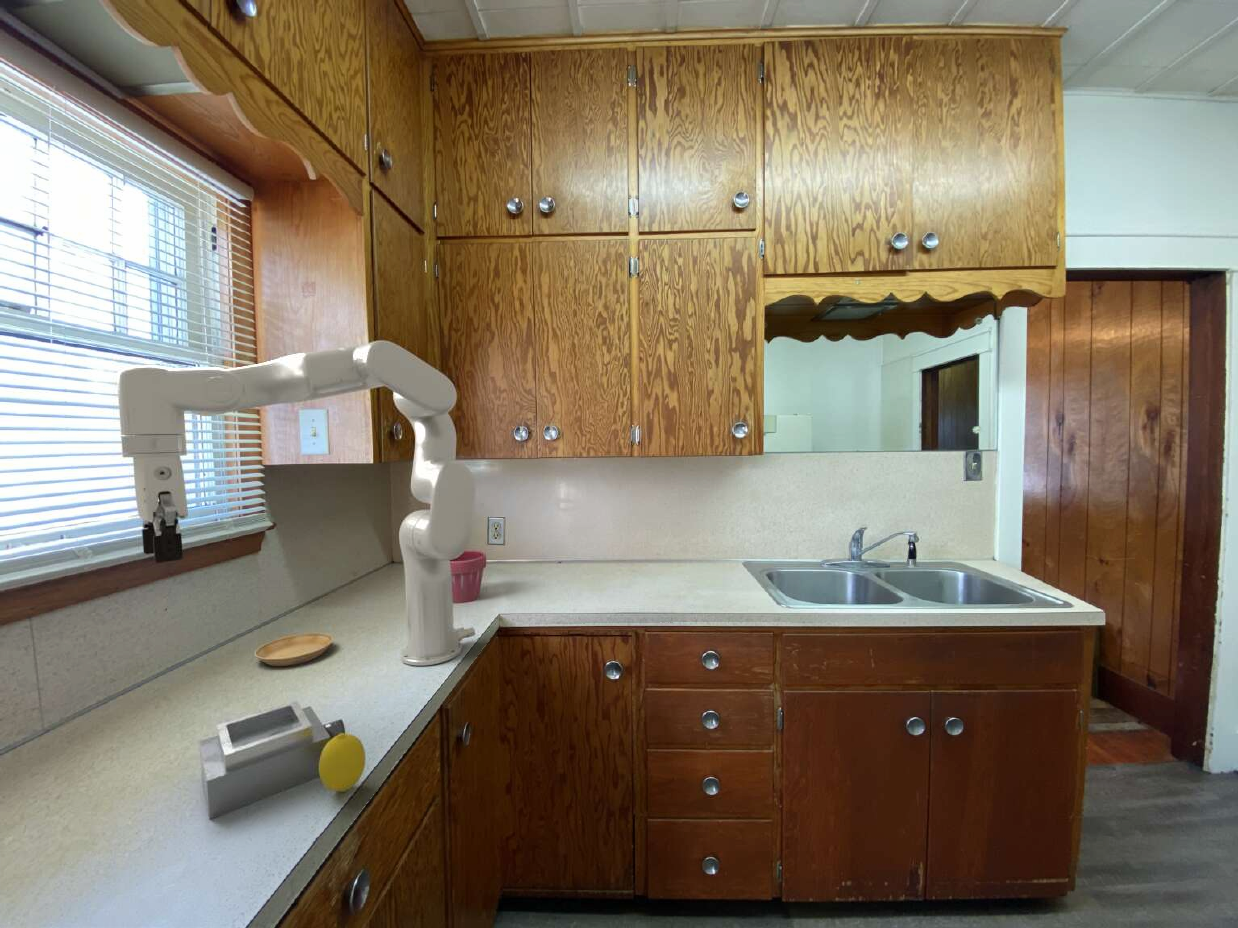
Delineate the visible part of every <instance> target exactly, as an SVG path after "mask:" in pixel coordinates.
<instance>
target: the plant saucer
mask: <svg viewBox="0 0 1238 928" xmlns="http://www.w3.org/2000/svg"><path fill="white" fill-rule="evenodd" d="M333 641H334V638H333V636H332V635H331V634H329V633H324V632H310V633H307V632H306V633H300V634H294V635H290V636H289V635H288V636H285V637H281V638H278V639H274V640H272V641H270V642H267V643H265V644H263V645H261V646H260V647H258V648H257V649H255V651H254V656H255V657H256V658H257V659H259V660H260V661H262V662H263V663H265V665H266V664H267V665H269V666H273V667H285V666H286V667H287V666H294V665H299V664H302V663H306V662H309V661H312V660H314V659H316V658H318V657H320V656H321V655H322V654H323V653H324V652H325V651H326V650H327V649H328V648H329V647H330V645H332V642H333Z"/></svg>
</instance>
